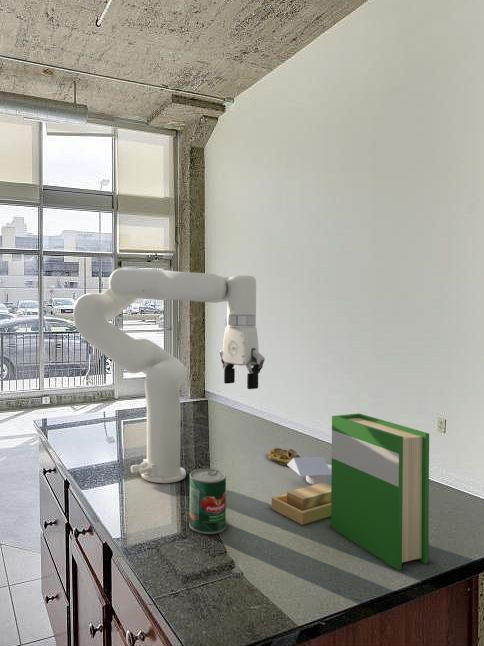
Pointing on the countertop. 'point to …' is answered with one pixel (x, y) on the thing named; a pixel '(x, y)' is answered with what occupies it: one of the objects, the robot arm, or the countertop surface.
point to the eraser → (309, 496)
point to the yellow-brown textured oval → (282, 455)
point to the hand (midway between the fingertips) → (240, 385)
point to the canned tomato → (207, 501)
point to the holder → (297, 515)
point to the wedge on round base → (312, 469)
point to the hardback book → (381, 487)
